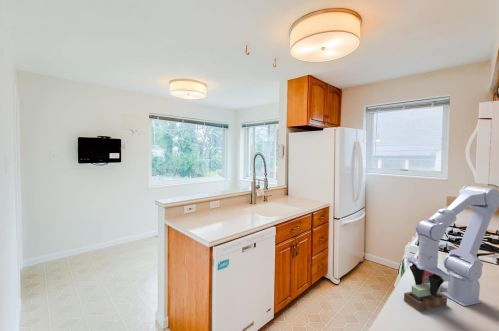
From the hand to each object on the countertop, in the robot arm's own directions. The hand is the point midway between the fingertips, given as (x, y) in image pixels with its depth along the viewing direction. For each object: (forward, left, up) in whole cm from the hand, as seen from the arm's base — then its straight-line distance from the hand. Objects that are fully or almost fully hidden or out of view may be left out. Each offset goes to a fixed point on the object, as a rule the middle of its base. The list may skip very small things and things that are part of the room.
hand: (425, 289), depth 87 cm
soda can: (-14, -11, -5) cm, 19 cm away
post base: (0, 0, -5) cm, 5 cm away
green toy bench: (0, 0, -5) cm, 5 cm away
